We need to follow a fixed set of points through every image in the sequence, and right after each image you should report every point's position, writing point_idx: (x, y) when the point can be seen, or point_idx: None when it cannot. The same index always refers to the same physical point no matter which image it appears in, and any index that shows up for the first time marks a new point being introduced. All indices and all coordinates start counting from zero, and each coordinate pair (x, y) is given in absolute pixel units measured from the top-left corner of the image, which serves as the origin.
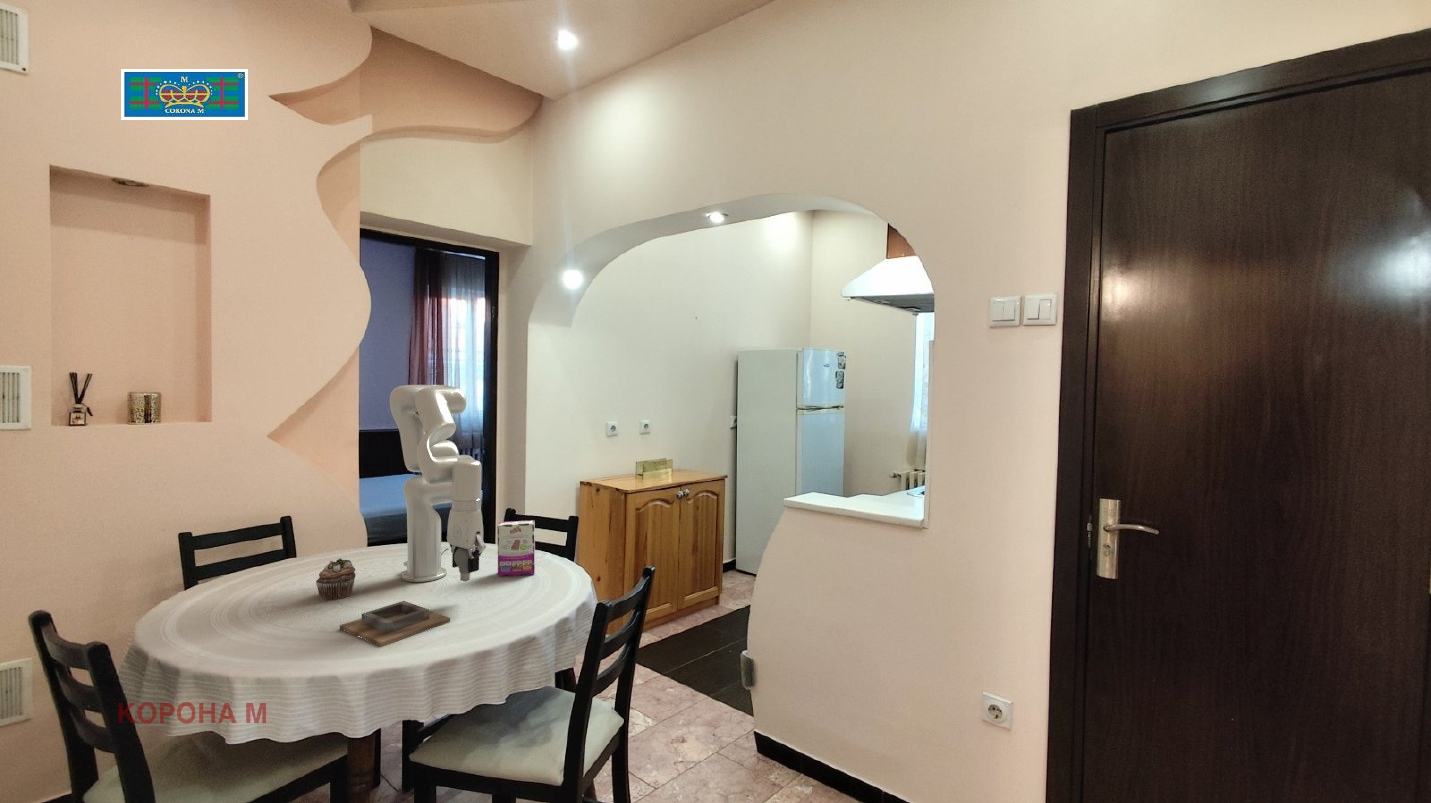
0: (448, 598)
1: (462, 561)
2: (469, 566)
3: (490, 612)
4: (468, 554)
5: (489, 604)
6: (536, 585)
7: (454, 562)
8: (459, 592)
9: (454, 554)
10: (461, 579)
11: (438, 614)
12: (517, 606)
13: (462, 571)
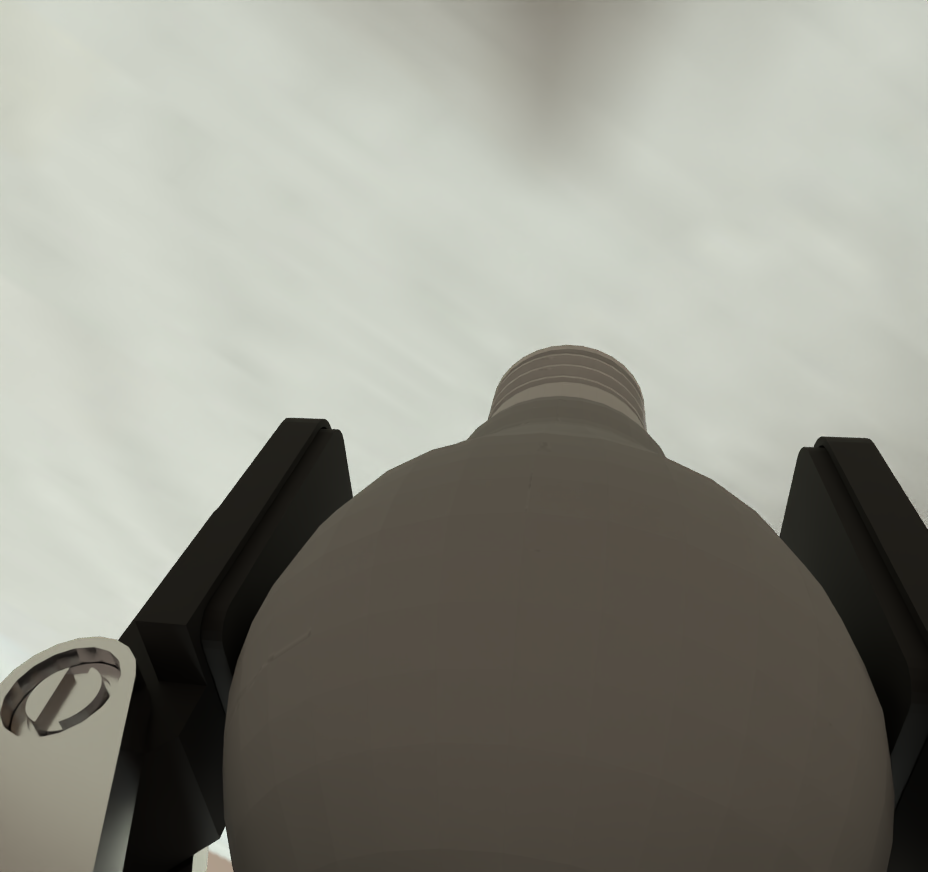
0: (827, 240)
1: (353, 503)
2: (237, 491)
3: (96, 241)
4: (225, 757)
5: (303, 368)
6: None
7: (835, 514)
8: (856, 420)
9: (789, 638)
10: (580, 360)
11: None
12: (95, 460)
13: (507, 414)
